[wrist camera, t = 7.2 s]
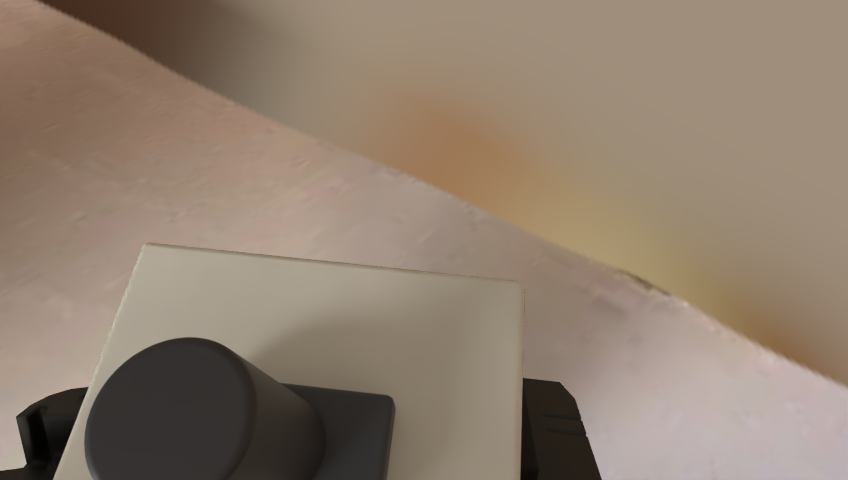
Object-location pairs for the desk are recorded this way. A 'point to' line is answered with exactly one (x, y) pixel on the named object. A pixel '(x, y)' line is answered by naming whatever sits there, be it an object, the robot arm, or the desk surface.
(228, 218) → the desk surface
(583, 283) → the desk surface
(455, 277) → the white tall block
